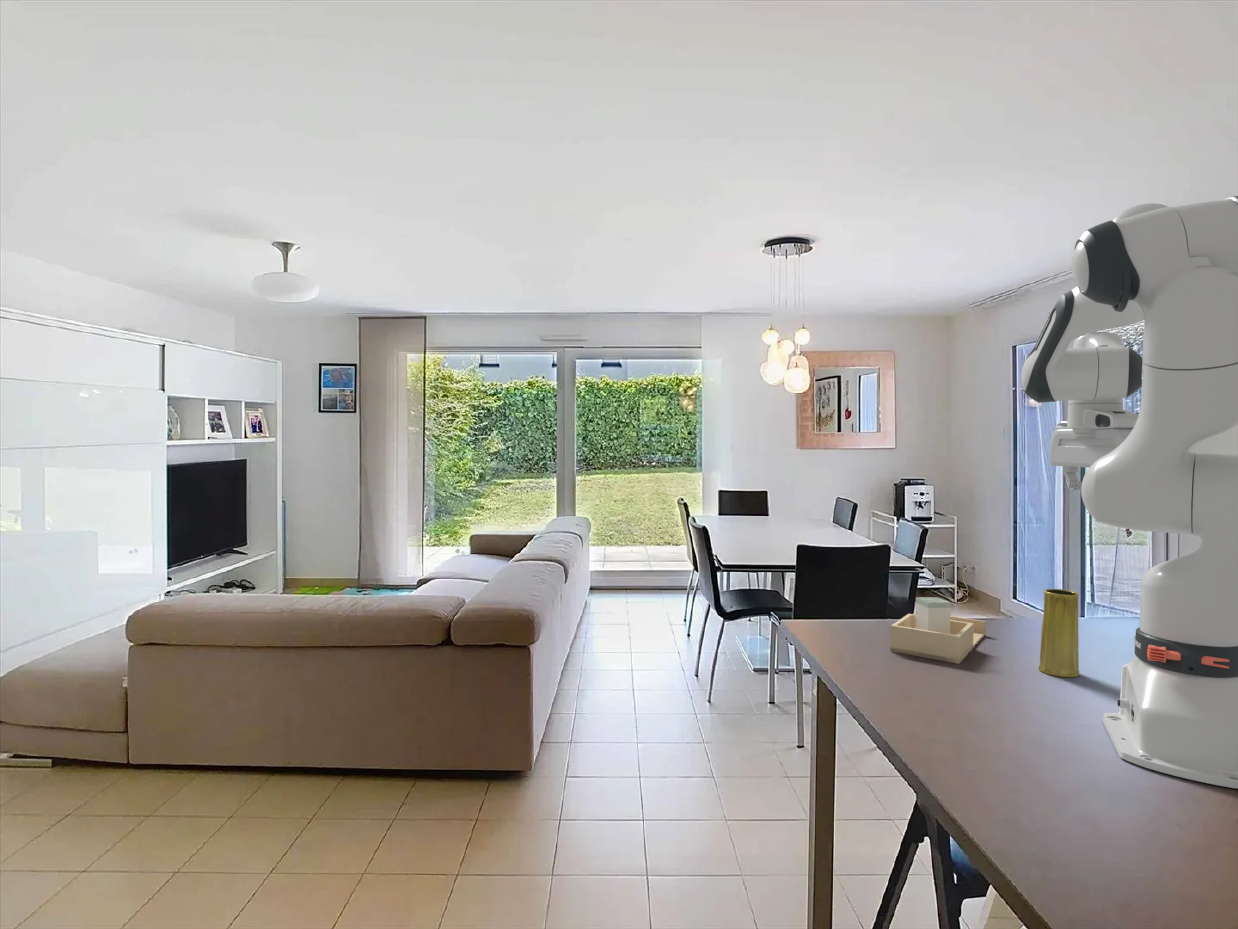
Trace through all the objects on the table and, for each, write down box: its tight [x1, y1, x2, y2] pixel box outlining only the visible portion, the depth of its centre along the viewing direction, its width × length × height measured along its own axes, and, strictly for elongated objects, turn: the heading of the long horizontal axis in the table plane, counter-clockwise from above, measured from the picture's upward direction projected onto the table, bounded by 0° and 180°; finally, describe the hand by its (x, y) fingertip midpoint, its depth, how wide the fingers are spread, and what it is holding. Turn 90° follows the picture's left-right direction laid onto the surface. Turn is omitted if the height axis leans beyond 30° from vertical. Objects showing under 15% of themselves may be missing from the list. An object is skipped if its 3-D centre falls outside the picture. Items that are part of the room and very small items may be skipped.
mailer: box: [889, 613, 987, 665], centre depth 142 cm, size 24×12×5 cm, turn 143°
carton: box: [915, 596, 952, 634], centre depth 137 cm, size 4×4×9 cm
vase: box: [1038, 588, 1080, 679], centre depth 124 cm, size 6×6×14 cm
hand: (1092, 491), depth 136 cm, fingers open, 8 cm apart
